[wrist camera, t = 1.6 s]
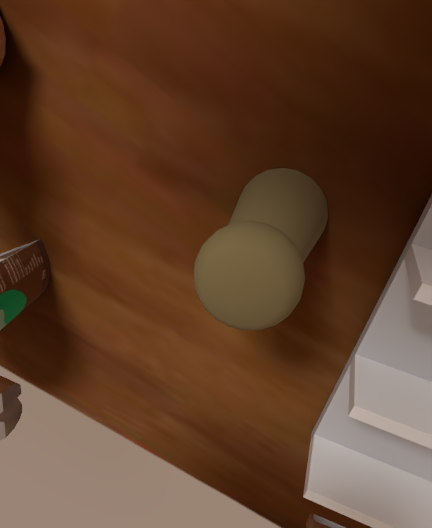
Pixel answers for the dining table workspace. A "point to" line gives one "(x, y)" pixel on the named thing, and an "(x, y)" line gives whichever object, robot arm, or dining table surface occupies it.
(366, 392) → the slot rack
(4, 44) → the mug
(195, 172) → the dining table surface
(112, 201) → the dining table surface
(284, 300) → the cork
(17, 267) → the food container
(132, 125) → the dining table surface
